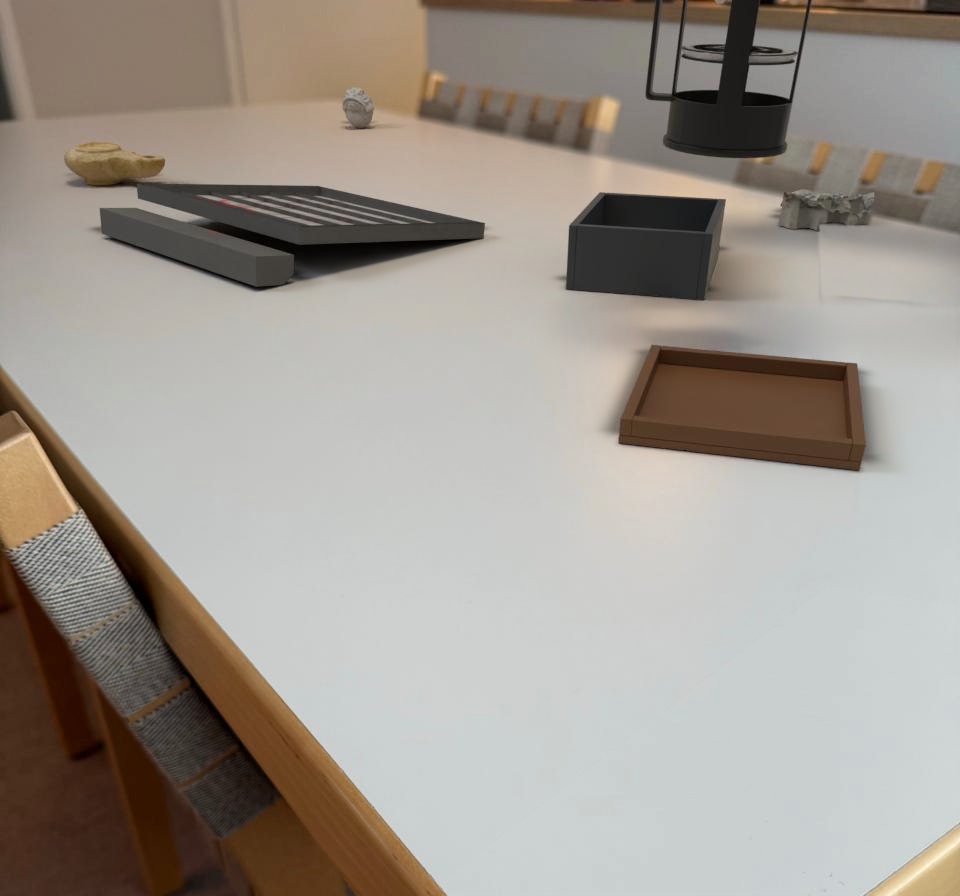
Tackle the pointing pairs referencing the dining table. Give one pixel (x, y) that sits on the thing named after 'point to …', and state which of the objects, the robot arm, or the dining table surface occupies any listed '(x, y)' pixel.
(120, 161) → the oil lamp
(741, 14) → the french press
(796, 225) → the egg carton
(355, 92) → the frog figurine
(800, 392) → the tray
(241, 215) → the dark grey wedge stand
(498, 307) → the dining table surface
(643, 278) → the holder
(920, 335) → the dining table surface
